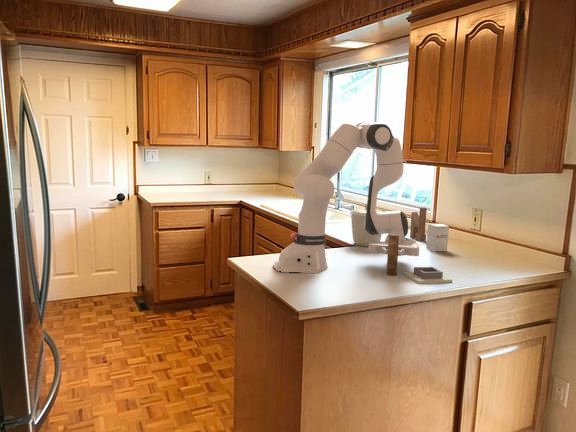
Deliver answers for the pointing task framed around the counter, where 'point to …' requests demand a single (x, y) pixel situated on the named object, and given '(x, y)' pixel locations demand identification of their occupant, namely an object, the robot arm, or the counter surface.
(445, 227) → the supplement box
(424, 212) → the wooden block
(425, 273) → the dowel holder
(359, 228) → the canister
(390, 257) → the walnut dowel
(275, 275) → the counter surface
